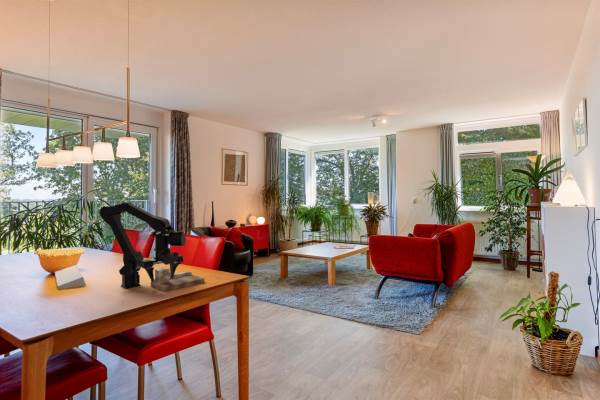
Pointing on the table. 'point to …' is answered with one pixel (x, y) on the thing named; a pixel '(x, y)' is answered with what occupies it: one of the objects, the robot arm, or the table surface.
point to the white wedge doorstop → (69, 277)
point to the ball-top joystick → (162, 275)
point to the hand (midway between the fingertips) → (162, 279)
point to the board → (178, 281)
